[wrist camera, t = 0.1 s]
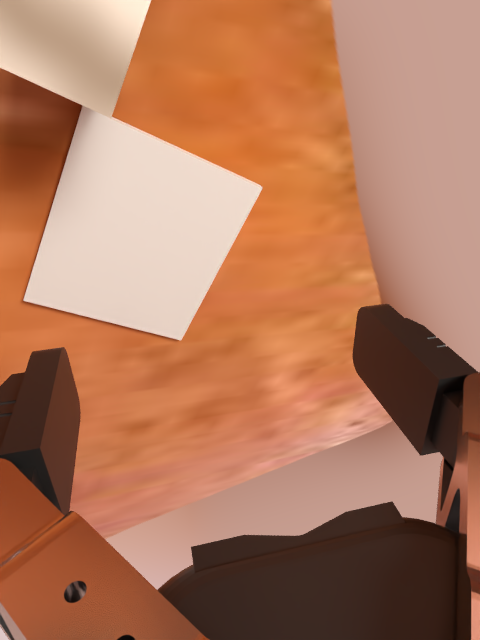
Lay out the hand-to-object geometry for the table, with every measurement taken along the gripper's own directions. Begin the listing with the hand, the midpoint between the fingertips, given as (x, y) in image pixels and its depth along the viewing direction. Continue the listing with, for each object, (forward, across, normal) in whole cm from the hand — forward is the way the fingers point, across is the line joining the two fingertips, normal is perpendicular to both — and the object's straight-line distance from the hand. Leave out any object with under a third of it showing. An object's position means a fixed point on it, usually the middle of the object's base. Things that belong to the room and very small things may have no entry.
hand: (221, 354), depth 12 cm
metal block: (+21, +4, -10) cm, 24 cm away
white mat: (+23, +2, +4) cm, 24 cm away
